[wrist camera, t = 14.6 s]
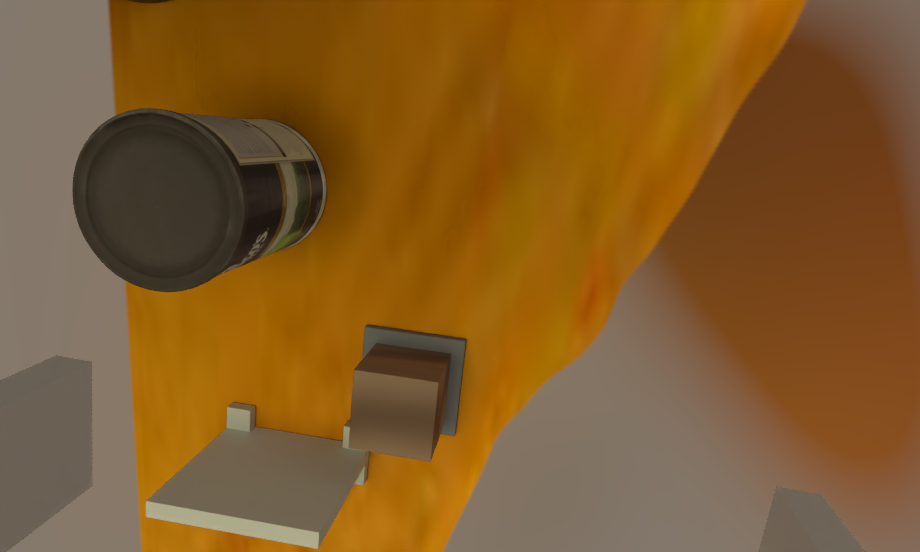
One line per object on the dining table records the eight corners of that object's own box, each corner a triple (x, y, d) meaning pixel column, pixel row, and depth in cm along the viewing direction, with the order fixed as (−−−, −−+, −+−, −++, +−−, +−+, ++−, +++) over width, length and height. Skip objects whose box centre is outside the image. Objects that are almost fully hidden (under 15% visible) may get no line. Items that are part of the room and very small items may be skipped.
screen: (233, 402, 53) (145, 475, 42) (371, 424, 52) (320, 506, 41) (231, 455, 55) (146, 541, 43) (366, 479, 53) (316, 574, 42)
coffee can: (350, 220, 49) (274, 251, 35) (239, 270, 51) (126, 318, 37) (291, 93, 47) (187, 75, 34) (178, 151, 49) (38, 156, 36)
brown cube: (376, 343, 50) (353, 369, 44) (451, 353, 49) (438, 382, 43) (370, 415, 51) (348, 450, 46) (443, 427, 51) (430, 464, 45)
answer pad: (367, 324, 50) (364, 326, 50) (466, 339, 50) (465, 341, 49) (359, 417, 52) (357, 420, 52) (455, 432, 51) (454, 436, 51)
